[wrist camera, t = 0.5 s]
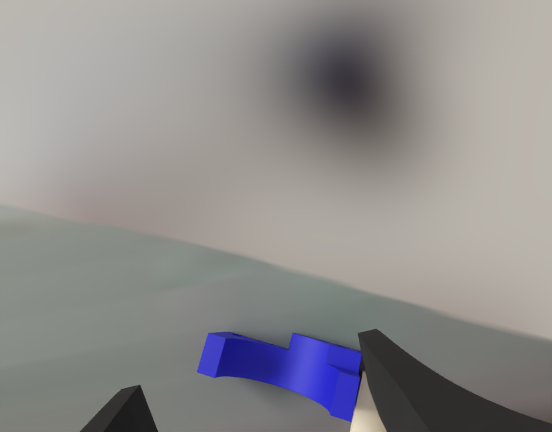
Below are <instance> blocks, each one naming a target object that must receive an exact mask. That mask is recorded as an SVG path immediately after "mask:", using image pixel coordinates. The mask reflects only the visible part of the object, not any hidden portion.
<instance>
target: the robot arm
mask: <svg viewBox="0 0 552 432" xmlns="http://www.w3.org/2000/svg"><path fill="white" fill-rule="evenodd" d="M358 337H359V342H360V347H361V352H362V357H363V362H364V367H365V372H366V378H367V383H368V387H369V390H370V392H371V395H372V398H373V401H374V403H375V406H376V409H377V411H378V414H379V417H380V419H381V421H382V423H383V425H384V427H385V429H386V431H387V432H552V424H550V423H547V422H544V421H541V420H538V419H535V418H532V417H529V416H526V415H523V414H521V413H518V412H515V411H513V410H510V409H508V408H505V407H503V406H501V405H498V404H496V403H493V402H491V401H489V400H487V399H484V398H482V397H480V396H478V395H476V394H474V393H472V392H470V391H468V390H466V389H464V388H462V387H460V386H458V385H456V384H454V383H453V382H451V381H449V380H447V379H446V378H444V377H442V376H441V375H439V374H438V373H436V372H434V371H433V370H431V369H430V368H428V367H427V366H425V365H424V364H422V363H421V362H419V361H418V360H417V359H415V358H414V357H412V356H411V355H409V354H408V353H407V352H405V351H404V350H403V349H401V348H400V347H399V346H398V345H396V344H395V343H394V342H393V341H391V340H390V339H389V338H388V337H386V336H385V335H384V334H383V333H382V332H380V331H379V330H377V329H374V330H369V331H365V332H361V333H358ZM80 432H158V430H157V428H156V425H155V423H154V420H153V417H152V415H151V412H150V410H149V407H148V404H147V402H146V399H145V397H144V394H143V391H142V389H141V386H140V385H137V386H133V387H129V388H124V389H121V390H120V391H119V392H118V393H117V394H116V395H115V396H114V397H113V398H112V399H111V400H110V401H109V402H108V403H107V404H106V405H105V406H104V407H103V408H102V409H101V410H100V411H99V412H98V413H97V414H96V415H95V416H94V417H93V418H92V419H91V421H90V422H89V423H88V424H87V425H86V426H85V427H84V428H83V429H82V430H81V431H80Z"/></svg>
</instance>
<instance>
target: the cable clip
mask: <svg viewBox="0 0 552 432" xmlns="http://www.w3.org/2000/svg"><path fill="white" fill-rule="evenodd" d="M361 356H362V353H361V352H360V351H357V350H354V349H350V348H347V347H343V346H339V345H336V344H332V343H329V342H325V341H322V340H318V339H314V338H311V337H307V336H304V335H300V334H297V333H293V334H292V338H291V342H290V346H289V349H286V348H283V347H279V346H276V345H273V344H269V343H266V342H262V341H259V340H255V339H252V338H248V337H245V336H242V335H238V334H235V333H231V332H217V333H208V336H207V339H206V343H205V346H204V350H203V353H202V356H201V360H200V363H199V367H198V370H197V372H198V373H201V374H204V375H207V376H210V377H214V378H216V377H222V376H231V377H241V378H247V379H253V380H257V381H262V382H266V383H269V384H273V385H277V386H280V387H283V388H286V389H289V390H291V391H294V392H297V393H299V394H302V395H304V396H306V397H308V398H310V399H312V400H314V401H316V402H318V403H320V404H321V405H323V406H324V407H325V408H326V409H327V410H328V411H329V412H330V415H331V416H335V417H338V418H341V419H344V420H347V421H350V422H351V421H352V416H353V411H354V406H355V401H356V395H357V390H358V385H359V380H360V377H359V374H358V371H359V366H360V361H361Z"/></svg>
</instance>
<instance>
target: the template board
mask: <svg viewBox="0 0 552 432" xmlns="http://www.w3.org/2000/svg"><path fill="white" fill-rule="evenodd" d="M350 432H387V431H386V429H385V427H384V425H383V423H382V421H381V419H380V417H379V414H378V411H377V409H376V406H375V403H374V401H373V398H372V395H371V392H370V390H369V387H368V383H367V378H366V372H365V371H362V375H361V379H360V384H359V389H358V394H357V399H356V404H355V409H354V414H353V419H352V424H351V429H350Z"/></svg>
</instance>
